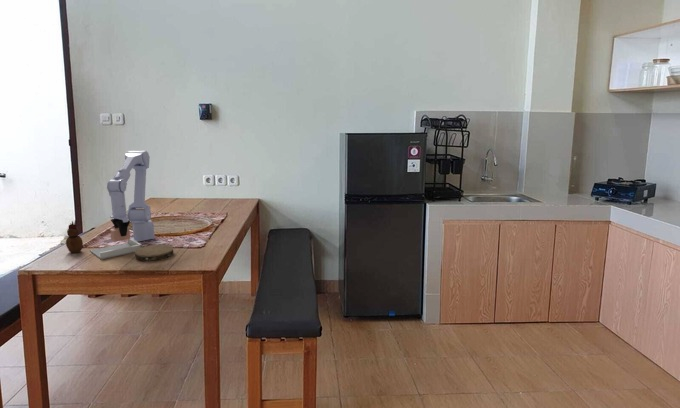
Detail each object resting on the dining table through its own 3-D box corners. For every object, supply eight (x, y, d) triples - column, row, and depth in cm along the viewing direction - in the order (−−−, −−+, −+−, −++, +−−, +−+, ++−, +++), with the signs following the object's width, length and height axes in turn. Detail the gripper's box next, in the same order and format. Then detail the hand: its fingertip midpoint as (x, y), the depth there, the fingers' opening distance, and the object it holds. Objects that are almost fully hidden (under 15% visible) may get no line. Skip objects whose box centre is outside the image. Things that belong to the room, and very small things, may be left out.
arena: (130, 243, 232) (129, 237, 231) (142, 250, 221) (142, 244, 220) (90, 251, 220) (89, 245, 219) (101, 259, 209) (100, 252, 208)
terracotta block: (111, 239, 219) (110, 228, 217) (127, 236, 223) (126, 225, 222) (114, 241, 215) (113, 230, 214) (130, 238, 220) (129, 227, 219)
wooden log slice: (142, 251, 221) (141, 245, 220) (177, 250, 222) (177, 244, 221) (129, 262, 205) (129, 256, 204) (167, 261, 206) (167, 255, 205)
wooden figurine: (85, 251, 220) (82, 219, 217) (73, 254, 215) (69, 222, 212) (77, 249, 224) (73, 217, 221) (65, 252, 219) (60, 220, 216)
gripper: (104, 204, 219) (107, 233, 222) (115, 209, 208) (118, 239, 211) (120, 202, 224) (123, 230, 226) (131, 207, 213) (134, 236, 216)
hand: (121, 234), depth 219 cm, fingers closed on terracotta block, 5 cm apart
